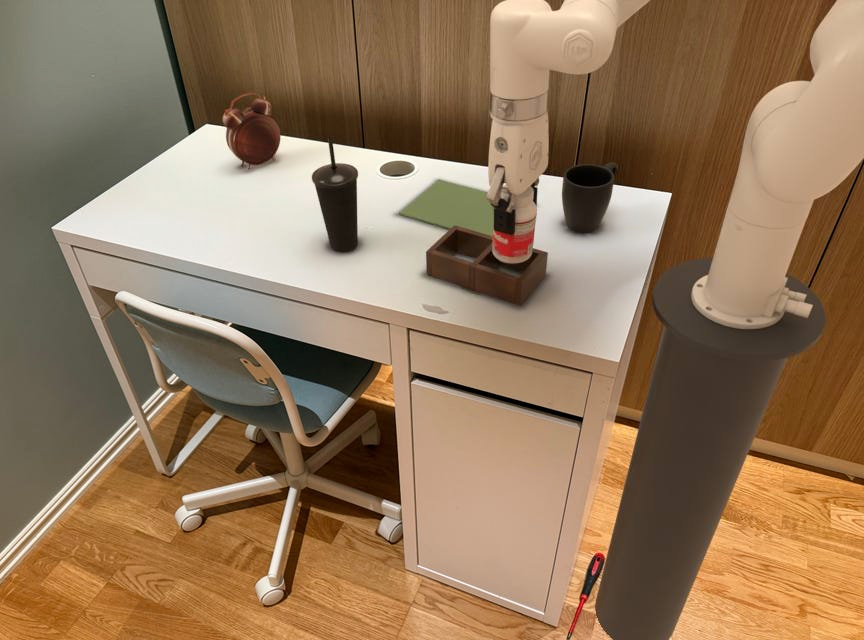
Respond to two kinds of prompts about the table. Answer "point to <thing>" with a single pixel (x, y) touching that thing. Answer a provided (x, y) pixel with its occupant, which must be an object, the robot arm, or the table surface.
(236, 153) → the alarm clock
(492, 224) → the mat
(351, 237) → the drinking cup
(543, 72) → the robot arm
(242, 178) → the table surface
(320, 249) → the table surface
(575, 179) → the mug
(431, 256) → the wooden compartment box
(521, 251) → the pill bottle
